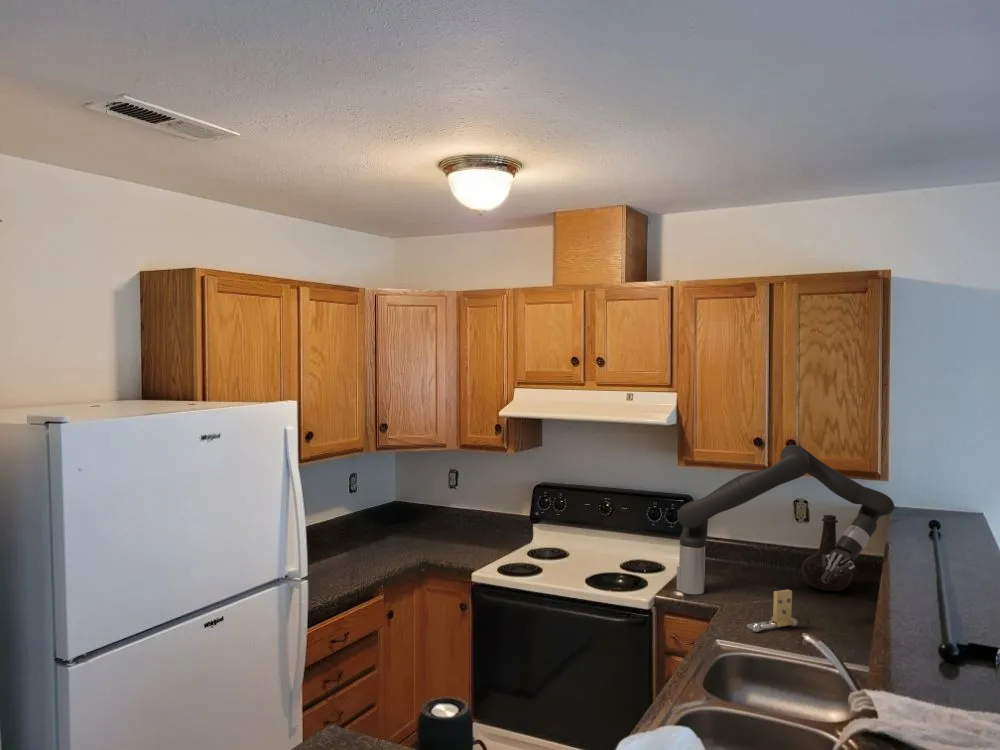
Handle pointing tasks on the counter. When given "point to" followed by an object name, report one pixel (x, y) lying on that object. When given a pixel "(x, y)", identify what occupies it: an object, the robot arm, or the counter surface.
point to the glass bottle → (813, 564)
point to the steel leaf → (767, 625)
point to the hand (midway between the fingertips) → (823, 581)
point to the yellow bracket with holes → (782, 608)
